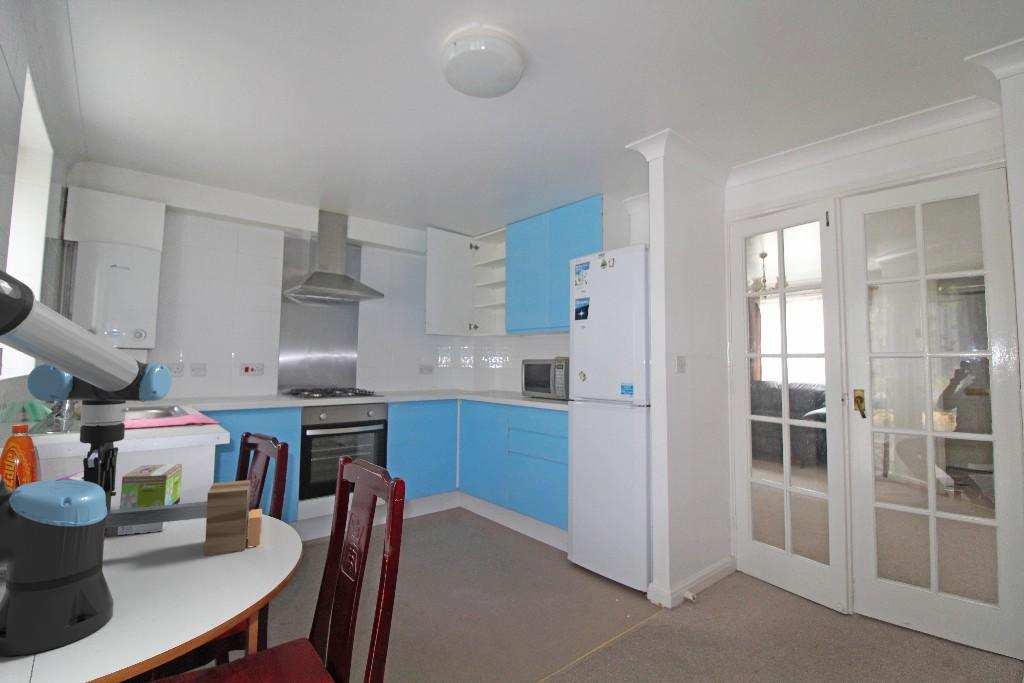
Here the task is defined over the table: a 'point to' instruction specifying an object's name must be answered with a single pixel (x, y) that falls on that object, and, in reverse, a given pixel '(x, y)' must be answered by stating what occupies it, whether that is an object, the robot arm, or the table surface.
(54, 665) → the table surface
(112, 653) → the table surface
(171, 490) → the tea box
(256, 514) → the spacer
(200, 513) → the shaft
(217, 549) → the bearing block
